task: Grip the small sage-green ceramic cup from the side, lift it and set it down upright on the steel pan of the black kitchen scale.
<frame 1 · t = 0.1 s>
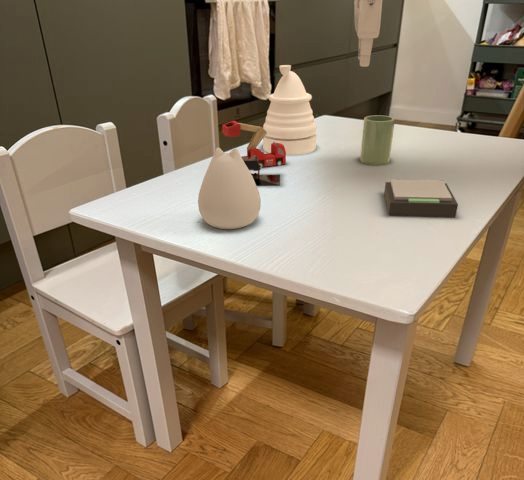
hand: (363, 63, 95), 20 cm above the table, tool pointing down, fingers open, 8 cm apart
build plate: (249, 182, 102), on the table
honey pot: (289, 149, 122), on the table
cup: (374, 161, 112), on the table
toy character: (230, 223, 85), on the table
toy fire truck: (256, 168, 110), on the table
scale: (417, 206, 89), on the table
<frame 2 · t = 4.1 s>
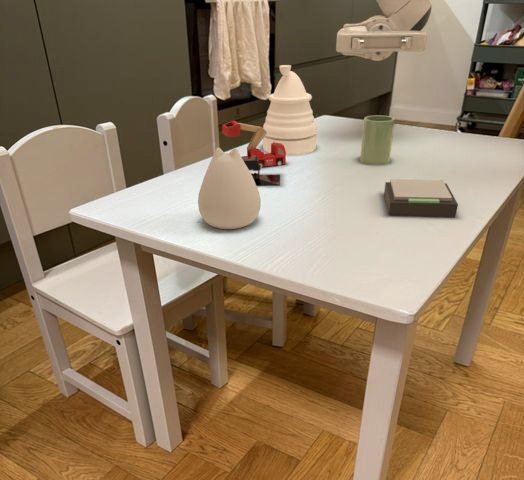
hand: (382, 44, 109), 22 cm above the table, tool horizontal, fingers open, 8 cm apart
nothing on the table moved.
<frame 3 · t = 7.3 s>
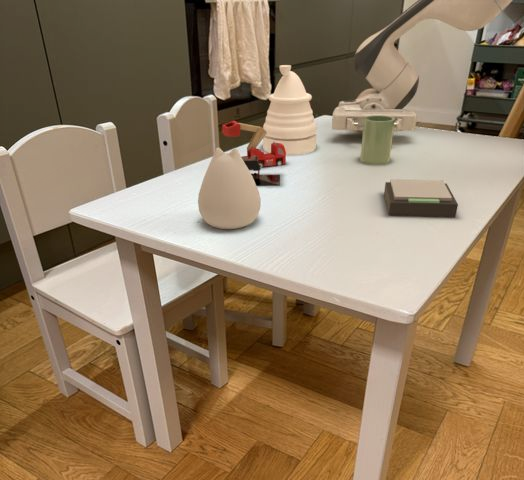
hand: (374, 127, 117), 5 cm above the table, tool horizontal, fingers open, 8 cm apart
nothing on the table moved.
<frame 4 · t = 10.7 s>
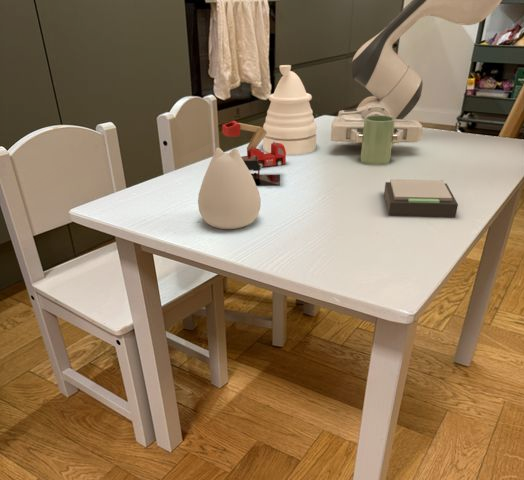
hand: (377, 139, 108), 5 cm above the table, tool horizontal, fingers closed on cup, 6 cm apart
cup: (374, 161, 112), on the table, touching gripper
everything else where it was.
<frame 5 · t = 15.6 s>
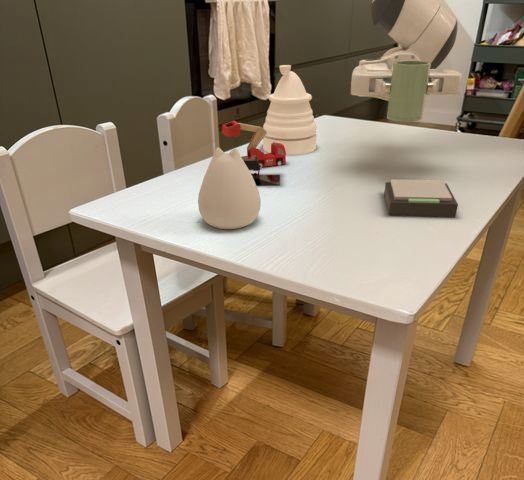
hand: (408, 89, 89), 17 cm above the table, tool horizontal, fingers closed on cup, 6 cm apart
cup: (404, 118, 93), point 12 cm above the table, touching gripper
everything else where it was.
when the fingers open (8 cm above the table, at t = 20.7 s): cup stays where it is, resting on scale.
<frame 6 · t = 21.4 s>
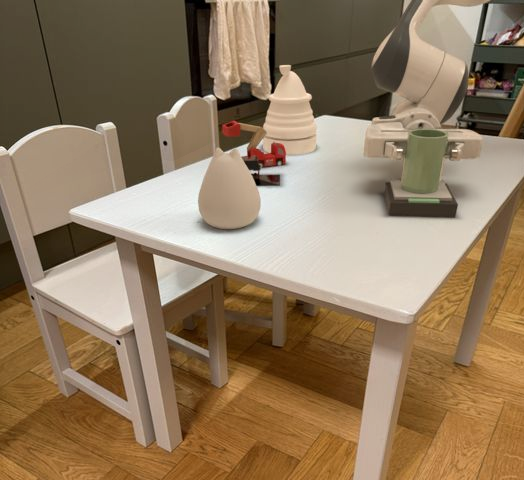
hand: (426, 155, 83), 9 cm above the table, tool horizontal, fingers open, 8 cm apart
cup: (419, 187, 88), point 3 cm above the table, touching scale
everything else where it was.
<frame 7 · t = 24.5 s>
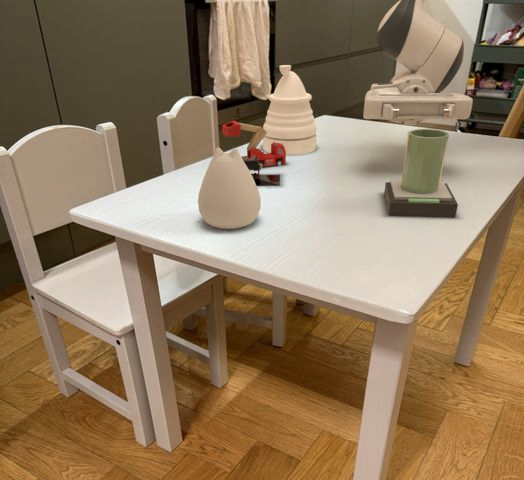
hand: (420, 114, 91), 13 cm above the table, tool horizontal, fingers open, 8 cm apart
nothing on the table moved.
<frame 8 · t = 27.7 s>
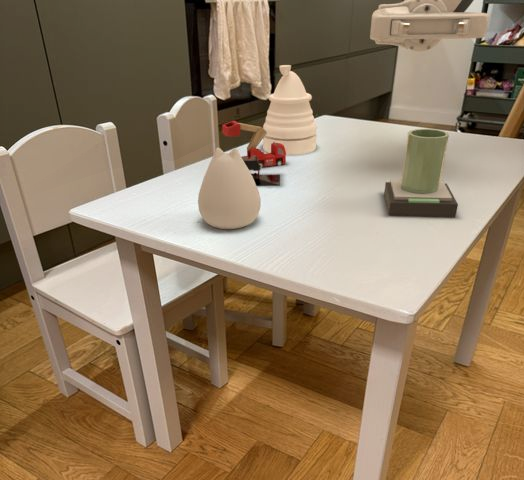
hand: (433, 28, 84), 26 cm above the table, tool horizontal, fingers open, 8 cm apart
nothing on the table moved.
at the end: cup inside the target area on the scale (0.2 cm from its centre), point 3.1 cm above the scale's base; cup tilted 0°; the gripper is holding nothing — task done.
